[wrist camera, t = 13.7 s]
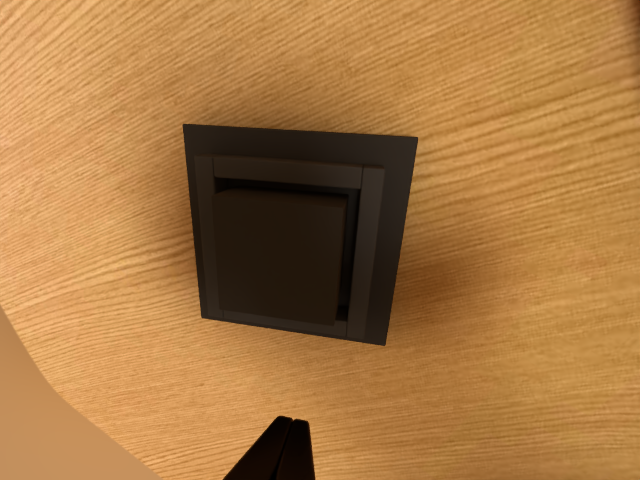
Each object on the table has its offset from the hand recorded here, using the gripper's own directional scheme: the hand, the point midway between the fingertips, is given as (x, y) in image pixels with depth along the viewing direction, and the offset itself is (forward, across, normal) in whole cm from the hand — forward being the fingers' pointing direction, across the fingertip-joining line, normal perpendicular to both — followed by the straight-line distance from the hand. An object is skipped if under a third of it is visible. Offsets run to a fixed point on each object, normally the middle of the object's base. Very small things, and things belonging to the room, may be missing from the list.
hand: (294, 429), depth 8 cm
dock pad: (+11, +3, -2) cm, 11 cm away
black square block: (+10, +3, -2) cm, 10 cm away
